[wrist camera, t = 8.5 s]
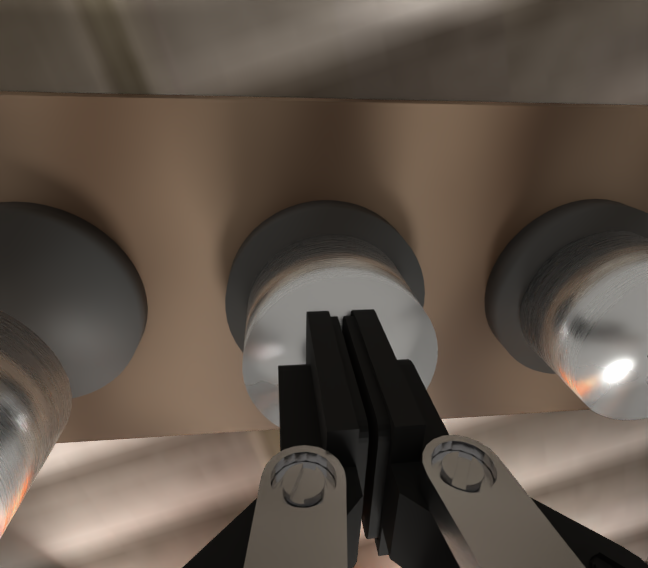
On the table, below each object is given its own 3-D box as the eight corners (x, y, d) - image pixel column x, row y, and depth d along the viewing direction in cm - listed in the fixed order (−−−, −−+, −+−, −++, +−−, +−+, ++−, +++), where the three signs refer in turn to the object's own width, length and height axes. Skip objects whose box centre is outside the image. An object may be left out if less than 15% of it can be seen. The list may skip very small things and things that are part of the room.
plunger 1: (414, 233, 13) (451, 274, 10) (397, 370, 15) (425, 434, 12) (243, 235, 12) (236, 279, 10) (251, 377, 15) (247, 446, 12)
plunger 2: (685, 229, 14) (785, 266, 11) (634, 358, 16) (706, 415, 13) (539, 231, 13) (607, 270, 11) (506, 364, 16) (555, 425, 13)
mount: (710, 106, 16) (802, 113, 13) (607, 377, 21) (657, 422, 18) (-166, 87, 12) (-285, 91, 10) (-29, 412, 18) (-82, 473, 15)
